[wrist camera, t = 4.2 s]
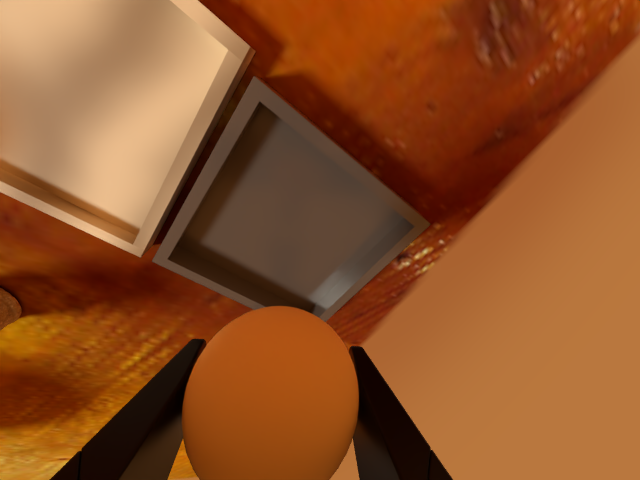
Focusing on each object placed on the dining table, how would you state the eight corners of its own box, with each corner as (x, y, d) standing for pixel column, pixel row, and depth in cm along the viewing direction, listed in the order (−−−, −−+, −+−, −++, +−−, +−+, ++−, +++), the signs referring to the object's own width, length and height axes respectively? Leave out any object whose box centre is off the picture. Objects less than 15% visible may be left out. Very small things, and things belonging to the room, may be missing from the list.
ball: (372, 313, 10) (426, 491, 5) (297, 376, 12) (292, 545, 7) (260, 249, 8) (206, 436, 4) (193, 336, 10) (105, 526, 6)
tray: (255, 51, 12) (250, 46, 11) (152, 245, 18) (140, 257, 16) (-26, -197, 9) (-84, -248, 7) (-52, 145, 14) (-89, 150, 12)
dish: (417, 210, 17) (430, 224, 15) (309, 314, 22) (310, 335, 20) (261, 78, 13) (253, 75, 11) (168, 243, 18) (151, 261, 16)
